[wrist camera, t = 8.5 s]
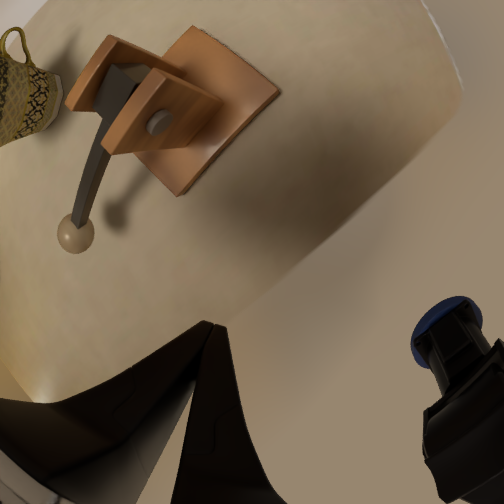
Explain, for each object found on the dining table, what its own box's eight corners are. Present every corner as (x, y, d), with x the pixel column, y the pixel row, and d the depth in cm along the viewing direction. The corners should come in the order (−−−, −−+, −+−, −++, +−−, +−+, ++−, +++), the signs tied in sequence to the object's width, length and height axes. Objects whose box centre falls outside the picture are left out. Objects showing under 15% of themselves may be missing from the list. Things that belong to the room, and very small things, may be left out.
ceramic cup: (60, 151, 22) (-16, 168, 12) (20, 135, 22) (-41, 148, 13) (96, 35, 16) (22, 16, 7) (47, 39, 16) (-14, 32, 7)
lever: (97, 247, 21) (71, 268, 19) (75, 222, 21) (49, 240, 18) (180, 87, 12) (135, 90, 9) (143, 58, 11) (98, 58, 9)
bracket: (183, 194, 21) (105, 232, 12) (116, 128, 20) (29, 134, 11) (280, 92, 17) (258, 45, 8) (197, 29, 16) (132, -24, 7)
